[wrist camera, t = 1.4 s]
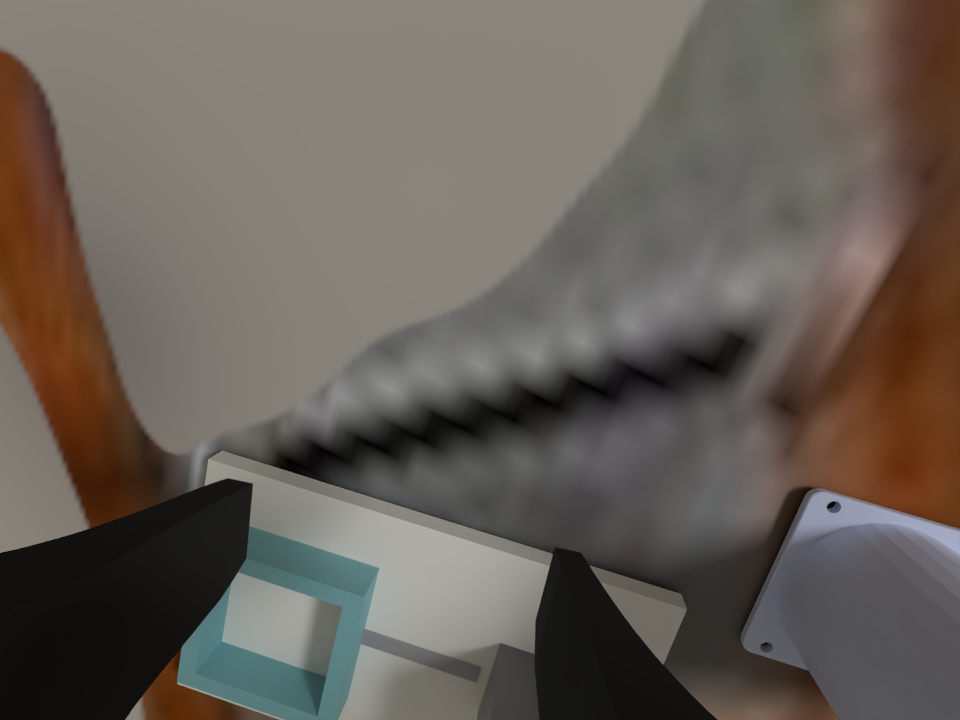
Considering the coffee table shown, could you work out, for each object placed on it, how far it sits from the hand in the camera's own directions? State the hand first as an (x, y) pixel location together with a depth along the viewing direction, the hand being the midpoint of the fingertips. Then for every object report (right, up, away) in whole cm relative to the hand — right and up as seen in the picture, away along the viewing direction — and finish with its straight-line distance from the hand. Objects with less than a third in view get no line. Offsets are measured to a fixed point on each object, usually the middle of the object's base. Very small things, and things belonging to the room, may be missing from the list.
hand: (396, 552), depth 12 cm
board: (-1, -9, +13) cm, 16 cm away
